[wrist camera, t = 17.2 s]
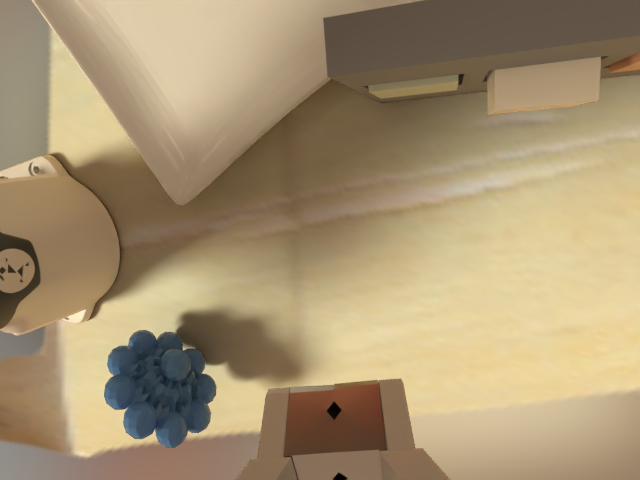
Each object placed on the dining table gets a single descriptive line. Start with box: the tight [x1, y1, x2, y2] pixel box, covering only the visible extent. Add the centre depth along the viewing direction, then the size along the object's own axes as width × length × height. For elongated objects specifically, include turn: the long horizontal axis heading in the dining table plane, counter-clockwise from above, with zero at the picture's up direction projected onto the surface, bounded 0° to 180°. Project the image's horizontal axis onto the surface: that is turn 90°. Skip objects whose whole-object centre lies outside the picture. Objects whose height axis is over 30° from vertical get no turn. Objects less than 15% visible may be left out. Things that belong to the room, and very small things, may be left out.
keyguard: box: [323, 0, 640, 103], centre depth 24 cm, size 20×7×17 cm, turn 95°
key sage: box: [368, 74, 458, 99], centre depth 26 cm, size 5×4×5 cm
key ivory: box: [487, 57, 601, 115], centre depth 24 cm, size 5×4×5 cm
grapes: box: [104, 330, 216, 448], centre depth 41 cm, size 12×7×12 cm, turn 54°
